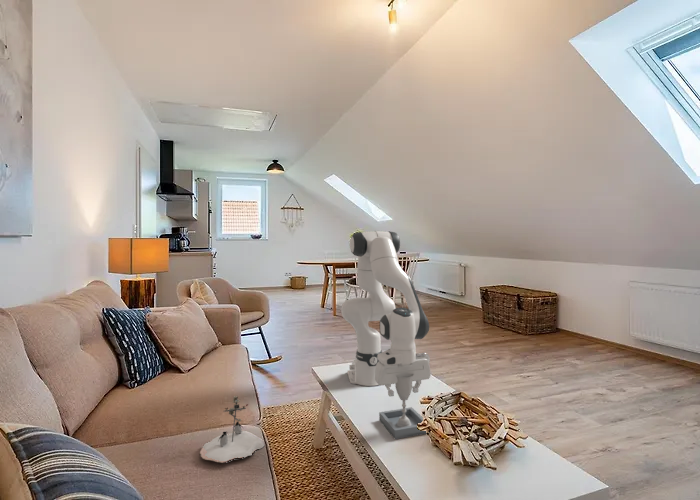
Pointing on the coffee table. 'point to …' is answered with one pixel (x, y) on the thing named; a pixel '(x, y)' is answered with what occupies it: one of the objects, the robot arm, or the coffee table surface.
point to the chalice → (404, 397)
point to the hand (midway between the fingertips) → (403, 393)
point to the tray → (391, 420)
